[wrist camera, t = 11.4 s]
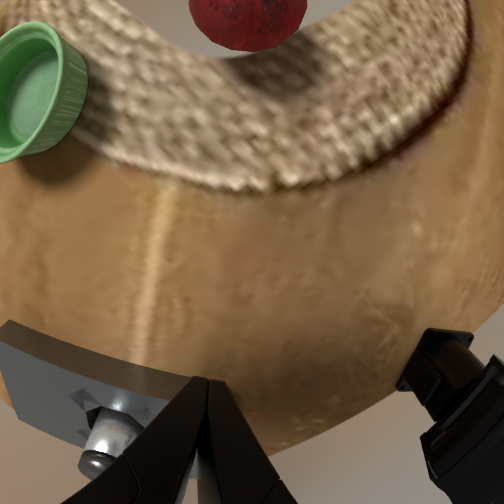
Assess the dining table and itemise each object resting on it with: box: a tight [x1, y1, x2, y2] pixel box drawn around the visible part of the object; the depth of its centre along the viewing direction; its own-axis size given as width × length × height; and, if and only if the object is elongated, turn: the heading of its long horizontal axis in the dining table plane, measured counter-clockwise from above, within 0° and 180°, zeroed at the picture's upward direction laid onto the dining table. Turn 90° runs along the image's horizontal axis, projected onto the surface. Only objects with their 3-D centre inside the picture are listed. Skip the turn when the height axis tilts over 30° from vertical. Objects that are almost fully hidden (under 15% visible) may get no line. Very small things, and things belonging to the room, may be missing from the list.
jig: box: [0, 320, 197, 479], centre depth 21 cm, size 20×11×3 cm, turn 77°
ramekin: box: [0, 21, 88, 164], centre depth 13 cm, size 9×9×4 cm
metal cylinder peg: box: [78, 406, 144, 480], centre depth 19 cm, size 4×4×8 cm
